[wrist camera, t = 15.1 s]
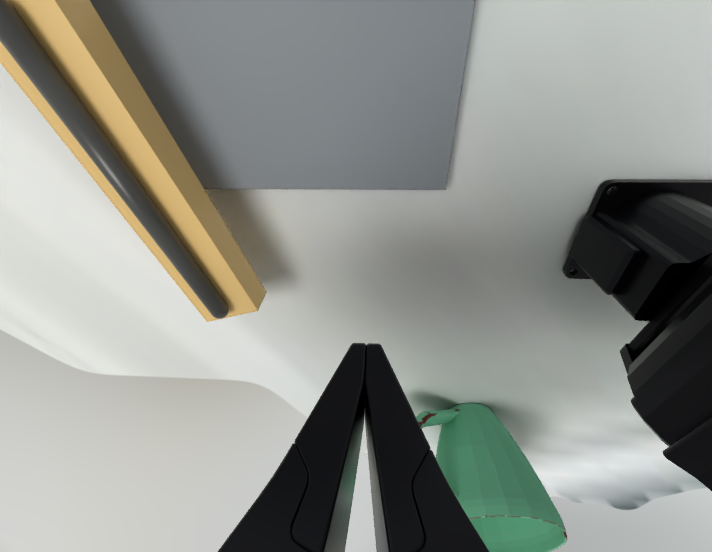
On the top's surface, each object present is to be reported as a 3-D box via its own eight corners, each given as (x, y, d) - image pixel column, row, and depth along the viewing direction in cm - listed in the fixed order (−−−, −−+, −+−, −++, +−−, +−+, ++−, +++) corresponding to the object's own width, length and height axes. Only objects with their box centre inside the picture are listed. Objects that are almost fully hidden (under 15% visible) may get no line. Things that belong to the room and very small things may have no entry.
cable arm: (267, 290, 20) (252, 322, 18) (220, 301, 21) (199, 333, 19) (-6, -164, 10) (-127, -230, 8) (-78, -109, 11) (-210, -154, 8)
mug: (541, 410, 31) (599, 539, 23) (471, 449, 36) (498, 566, 28) (420, 354, 27) (438, 484, 19) (361, 406, 32) (355, 526, 24)
